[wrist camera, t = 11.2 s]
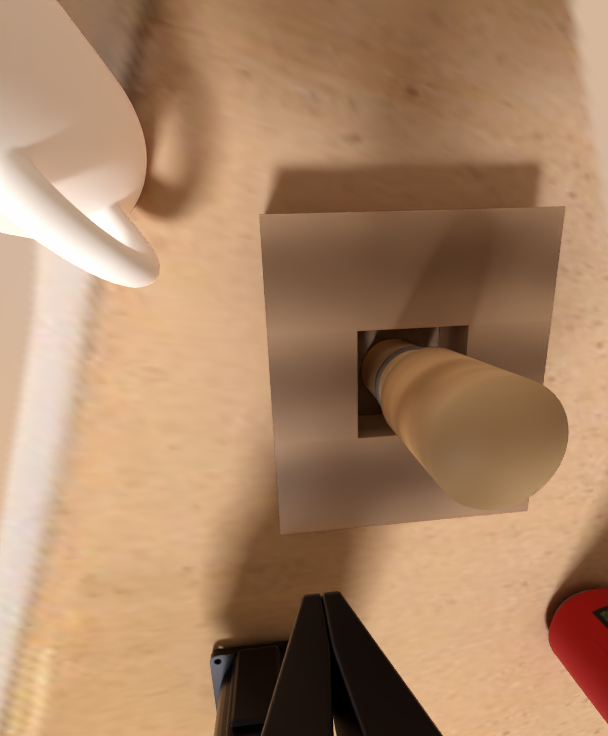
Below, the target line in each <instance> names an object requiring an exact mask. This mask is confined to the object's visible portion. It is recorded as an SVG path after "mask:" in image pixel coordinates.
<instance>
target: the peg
mask: <svg viewBox="0 0 608 736" xmlns="http://www.w3.org/2000/svg"><path fill="white" fill-rule="evenodd" d="M361 375H362V380H363V383H364V384H365V386H366V388H367V389H368V390H369V391H370V392H371V393H372V395H373V396H374V397H375V398H376V399H377V401H378V403H379V404H380V406H381V408H382V413H383V415H384V418H385V420H386V422H387V423H388V425H389V426H390V427H391V429H392V430H393V431H394V432H395V433H396V435H397V436H398V437H399V438H400V439H401V441H402V442H403V443H404V444H405V445H406V447H407V448H408V449H409V450H410V451H411V453H412V454H413V455H414V456H415V457H416V459H417V460H418V461H419V462H420V463H421V465H422V466H423V467H424V468H425V469H426V471H427V472H428V473H429V474H430V475H431V477H432V478H433V479H434V480H435V481H436V483H437V484H438V485H439V486H440V487H441V489H442V490H443V491H444V492H445V493H446V494H447V495H448V496H449V497H450V498H452V499H453V500H454V501H456V502H458V503H460V504H462V505H464V506H467V507H470V508H474V509H481V510H495V509H501V508H505V507H509V506H512V505H515V504H517V503H520V502H522V501H524V500H525V499H527V498H529V497H530V496H532V495H533V494H535V493H536V492H537V491H539V490H540V489H541V488H542V487H543V486H544V485H545V484H546V483H547V482H548V481H549V480H550V479H551V477H552V476H553V475H554V473H555V472H556V470H557V469H558V467H559V465H560V463H561V461H562V459H563V457H564V454H565V451H566V447H567V442H568V433H569V432H568V421H567V416H566V413H565V411H564V408H563V406H562V404H561V402H560V401H559V400H558V398H557V397H556V396H555V394H553V393H552V392H551V391H550V390H549V389H548V388H546V387H545V386H543V385H542V384H540V383H538V382H535V381H533V380H530V379H528V378H525V377H522V376H520V375H517V374H514V373H511V372H509V371H506V370H503V369H501V368H498V367H495V366H492V365H490V364H487V363H484V362H482V361H479V360H476V359H473V358H471V357H468V356H465V355H463V354H460V353H457V352H454V351H452V350H449V349H445V348H440V347H428V348H425V347H421V346H416V345H413V344H411V343H409V342H406V341H404V340H401V339H387V340H384V341H381V342H379V343H377V344H376V345H374V346H373V347H372V348H371V349H370V350H369V351H368V352H367V354H366V355H365V357H364V360H363V363H362V367H361Z"/></svg>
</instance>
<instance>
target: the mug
mask: <svg viewBox="0 0 608 736" xmlns="http://www.w3.org/2000/svg"><path fill="white" fill-rule="evenodd" d="M146 167H147V155H146V145H145V139H144V134H143V131H142V128H141V125H140V122H139V119H138V117H137V115H136V112H135V110H134V108H133V106H132V104H131V102H130V100H129V98H128V97H127V95H126V93H125V92H124V90H123V88H122V87H121V85H120V84H119V83H118V81H117V80H116V78H115V77H114V76H113V74H112V73H111V71H110V70H109V69H108V67H107V66H106V65H105V63H104V62H103V61H102V59H101V58H100V57H99V55H98V54H97V53H96V52H95V50H94V49H93V48H92V46H91V45H90V44H89V42H88V41H87V40H86V38H85V37H84V36H83V34H82V33H81V32H80V30H79V29H78V28H77V26H76V25H75V24H74V22H73V21H72V20H71V19H70V17H69V16H68V15H67V13H66V12H65V11H64V9H63V8H62V7H61V5H60V4H59V3H58V1H57V0H0V232H1V233H7V234H12V235H17V236H22V237H27V238H33V239H35V240H36V241H38V242H39V243H41V244H42V245H44V246H45V247H47V248H48V249H50V250H51V251H53V252H54V253H56V254H57V255H59V256H61V257H62V258H64V259H65V260H67V261H69V262H70V263H72V264H74V265H76V266H77V267H79V268H81V269H83V270H85V271H87V272H89V273H91V274H93V275H95V276H97V277H99V278H102V279H104V280H107V281H109V282H112V283H116V284H119V285H123V286H127V287H135V288H138V287H144V286H148V285H150V284H151V283H153V282H154V281H155V280H156V278H157V277H158V275H159V270H160V264H159V260H158V257H157V255H156V253H155V251H154V249H153V248H152V246H151V245H150V244H149V242H148V241H147V240H146V238H145V237H144V236H143V235H142V233H141V232H140V231H139V230H138V228H137V227H136V226H135V225H134V224H133V222H132V221H131V220H130V219H129V218H128V217H127V216H128V215H129V214H130V212H131V211H132V209H133V208H134V206H135V205H136V203H137V201H138V199H139V197H140V194H141V191H142V189H143V186H144V181H145V176H146Z"/></svg>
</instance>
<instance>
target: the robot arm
mask: <svg viewBox="0 0 608 736" xmlns="http://www.w3.org/2000/svg"><path fill="white" fill-rule="evenodd" d="M210 665H211V673H212V680H213V688H214V695H215V703H216V710H217V716H216V724H215V732H214V736H334V731H333V719H334V724H335V730H336V735H337V736H443V735H442V734H441V732H440V731H439V729H438V728H437V727H436V725H435V724H434V722H433V721H432V720H431V718H430V717H429V715H428V714H427V713H426V711H425V710H424V709H423V707H422V706H421V704H420V703H419V702H418V700H417V699H416V697H415V696H414V695H413V693H412V692H411V690H410V689H409V688H408V686H407V685H406V683H405V682H404V681H403V679H402V678H401V676H400V675H399V674H398V672H397V671H396V669H395V668H394V667H393V665H392V664H391V663H390V661H389V660H388V658H387V657H386V656H385V654H384V653H383V651H382V650H381V649H380V647H379V646H378V644H377V643H376V642H375V640H374V639H373V637H372V636H371V635H370V633H369V632H368V630H367V629H366V628H365V626H364V625H363V623H362V622H361V621H360V619H359V618H358V617H357V615H356V614H355V612H354V611H353V610H352V608H351V607H350V605H349V604H348V603H347V601H346V600H345V598H344V597H343V596H342V594H341V593H340V592H338V591H335V592H326V593H323V594H322V596H321V595H320V594H308V595H304V596H303V597H302V599H301V602H300V605H299V609H298V612H297V615H296V619H295V622H294V626H293V629H292V632H291V636H290V639H289V641H287V642H279V643H270V644H262V645H254V646H245V647H237V648H229V649H220V650H215V651H214V652H213V653H212V654H211V660H210Z"/></svg>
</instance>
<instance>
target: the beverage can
mask: <svg viewBox="0 0 608 736" xmlns="http://www.w3.org/2000/svg"><path fill="white" fill-rule="evenodd" d="M549 643H550V646H551V648H552V650H553V652H554V653H555V655H556V656H557V657H558V659H559V660H560V661H561V663H562V664H563V665H564V667H565V668H566V669H567V671H568V672H569V673H570V675H571V676H572V677H573V679H574V680H575V681H576V683H577V684H578V685H579V687H580V688H581V689H582V691H583V692H584V693H585V695H586V696H587V697H588V699H589V700H590V701H591V702H592V704H593V705H594V706H595V708H596V709H597V710H598V712H599V713H600V714H601V716H602V717H603V718H604V719H605V721H606V722H607V723H608V588H599V589H592V590H585V591H581V592H578V593H575V594H573V595H572V596H570V597H568V598H567V599H566V600H564V601H563V602H562V603H561V604H560V606H559V607H558V608H557V610H556V611H555V614H554V616H553V619H552V622H551V625H550V628H549Z"/></svg>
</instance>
